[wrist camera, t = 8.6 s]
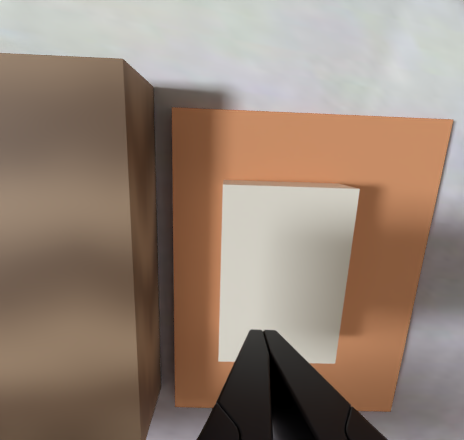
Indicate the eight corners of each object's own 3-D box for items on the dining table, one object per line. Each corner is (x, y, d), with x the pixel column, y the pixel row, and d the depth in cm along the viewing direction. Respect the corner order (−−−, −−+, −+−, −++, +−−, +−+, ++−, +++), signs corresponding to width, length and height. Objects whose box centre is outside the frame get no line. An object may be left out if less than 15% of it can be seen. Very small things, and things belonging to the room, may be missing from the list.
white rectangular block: (218, 361, 14) (219, 331, 16) (335, 363, 14) (319, 333, 16) (222, 184, 12) (223, 179, 14) (359, 188, 12) (338, 183, 14)
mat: (386, 404, 18) (390, 411, 18) (176, 400, 18) (175, 406, 17) (445, 120, 14) (453, 119, 14) (173, 109, 14) (171, 107, 13)
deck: (160, 387, 18) (141, 452, 14) (-59, 382, 17) (-143, 447, 13) (153, 86, 14) (122, 58, 10) (-136, 73, 13) (-289, 39, 9)
